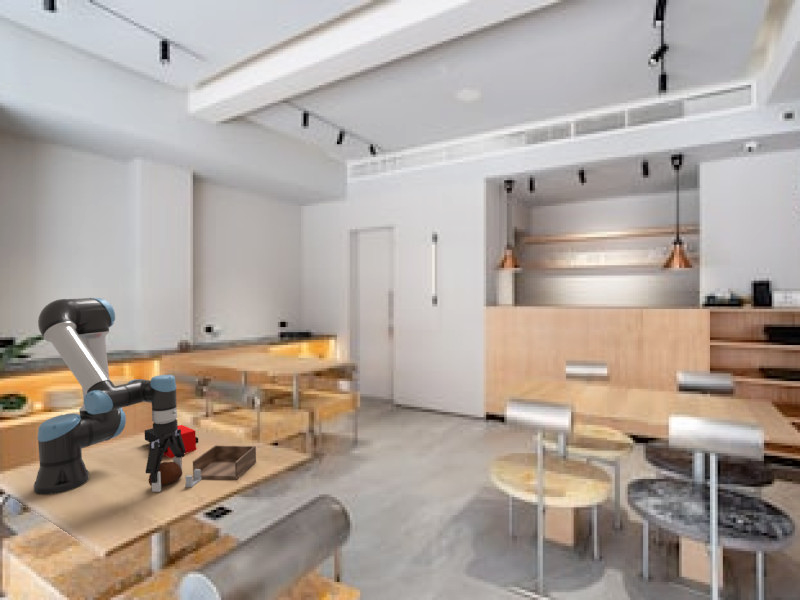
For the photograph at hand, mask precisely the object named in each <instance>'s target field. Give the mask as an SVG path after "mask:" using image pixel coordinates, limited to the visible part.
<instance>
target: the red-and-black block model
mask: <svg viewBox="0 0 800 600" xmlns="http://www.w3.org/2000/svg"><path fill="white" fill-rule="evenodd" d="M178 429H181V436H182V440H183V443H184V447H185V450H186V452H185V454H188V453H192V452H194V450H195V451H197V444H199V437H197V436H196V435H197V434H196V430H195V429H193V428H190V427H188V426H185V425H183V424H180V425H178ZM144 440H145V441H146V442H147V443H150V442H154V441H156V435H155V434H154V433H153V427H152V428H149V429H145V430H144ZM159 449H161V448H159ZM180 450H182V449H180ZM187 452H188V453H187ZM183 454H184V453H183ZM163 456H166V457H168V458H169V459H173V458H174V457H175V456H174V454H173V453H172V451H171V449H170V448H169V447H168V448H167V449H166V452H164V455H163Z"/></svg>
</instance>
